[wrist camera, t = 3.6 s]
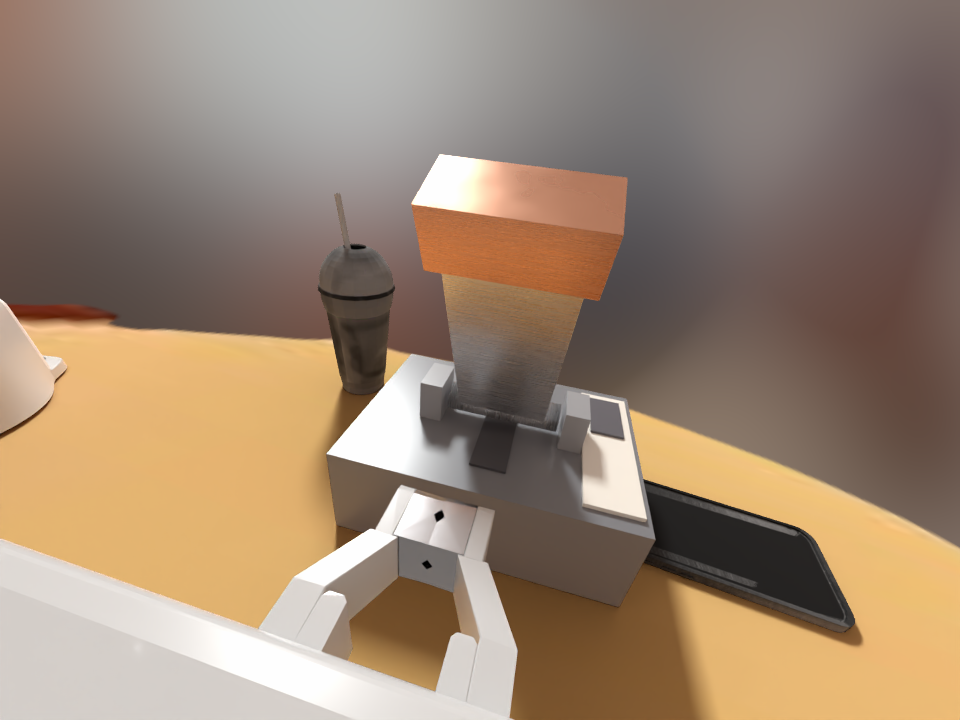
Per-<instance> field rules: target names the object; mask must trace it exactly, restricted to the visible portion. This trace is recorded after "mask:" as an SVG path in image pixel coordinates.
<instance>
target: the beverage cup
mask: <svg viewBox="0 0 960 720" xmlns="http://www.w3.org/2000/svg"><path fill="white" fill-rule="evenodd" d="M335 200H336V205H337V210H338V216H339V220H340V225H341V231H342V236H343V241H344V245H343V246H340V247H338V248H336V249H334V250H333V251H332V252H331V253H330V254H329V255H328V256H327V257H326V258H325V260H324V262H323V264H322V266H321V269H320V274H319V284H318V291H319V292H320V293H321V298H322V302H323V305H324V308H325V309H326V311H327V315H328V320H329V325H330V330H331V334H332V339H333V344H334V349H335V354H336V359H337V363H338V368H339V373H340V376H341V379H342V382H343V388H344V389H345V390H346V391H347V392H349V393H352V394H358V395H364V394H370V393H374V392H376V391H378V390H379V389H381V387H382V386H383V384H384V374H385V369H386V355H387V340H388V326H389V313H390V308H391V304H392V299H393V292H394V290H395V286H394V284H393V278H392V273H391V271H390V269H389V267H388V265H387V263H386V262H385V260H384V259H383V257H382V256H381V255H380V254H379V253H378V252H376V251H375V250H373V249H372V248H370V247H367V246H365V245H360V244H350V242H349V236H348V231H347V226H346V221H345V216H344V210H343V205H342V200H341V195H340V193H336V194H335Z"/></svg>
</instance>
